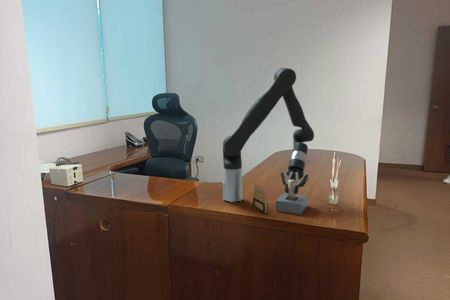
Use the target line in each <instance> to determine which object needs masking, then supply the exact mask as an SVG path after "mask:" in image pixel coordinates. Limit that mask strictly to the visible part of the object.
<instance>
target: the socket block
mask: <svg viewBox="0 0 450 300" xmlns="http://www.w3.org/2000/svg"><path fill="white" fill-rule="evenodd" d="M307 207H308V195H304V194H303V195H302V194H301V195H300V194H296V201H295V200H288V193H286V192H283V193H282V194H281V195H280V196H278V198H276V200H275V212H281V213H288V214H289V213H290V214H295V215H302V214H303V212H304V211H305V210H306V208H307Z"/></svg>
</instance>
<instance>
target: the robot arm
mask: <svg viewBox="0 0 450 300" xmlns="http://www.w3.org/2000/svg"><path fill="white" fill-rule="evenodd" d="M296 80H297V74H296V71H295V70H293V68H288V67H287V68H286V67H283V68H282V67H281V68H278V69H277V70H276V71H275V72H274V75H273V81H274V82H273V83H272V84H271V86H270V87H269V88H268V90H267V91H265V92H264V93H263V94H262V95H261V96H259V97H258V99H256V100H255V101H254V102H253V104H252V105H251V106H250V107H249V109H248V110H247V111H246V114H245V115H244V117H243V118H242V120H241V123H240V124H239V126H238V128H237V129H236V130H235V131H234V132H233V133H232V134H231V135H228V136H226V137H225V138H224V140H223V143H222V158H223V182H222V200H223V201H225V200H226V201H225V202H227V201H229V202H228V203H237V202H236V201H240V202H242V201H241V200H243V169H242V168H243V162H242V150H243V148H244V147H245V145H246V143H247V142H248V140H249V139H250V137H251V136H252V135H253V134H254V132H255V131H256V130H257V129H258V128H260V126H261V125H262V123H264V121H265V120H266V118H267V117H268V116H269V115H270V113H271V111H273V109H274V108H275V107H276V105H277V104H278V102H279V101H280V99H282V98H283V101H284V104H285V106H286V109H287V112H288V115H289V119H290V122H291V124H292V125H293V127H297V128H299V129H295V131H294V132H293V134H292V140H293V142H292V143H293V148H292V153H291V156H290V159H289V163H288V168H287V170H286V172H283V171H282V172H281V173H280V176H281V181H282V185H283V186H285V187H284V193H286V194H288V180H296V186H295V190H294V194H296V195H297V194H298V193H299V189H300V188H301V187H302V188H304V186H305V185H306V184H307V182H308V181H309V174H305V173H304V172H305V166H306V163H307V154H308V149H309V147H308V145H307V144H306V143H307V142H308V143H309V142H312V141H313V140H314V138H315V132H314V130H313V129H312V127H311V125H310V124H309V123H308V120H307V119H306V117H305V113H304V110H303V108H302V107H303V106H302V105H301V103H300V102H299V100H298V97H297V95H296V94H295V91H294V88H293V86H294V84H295V82H296ZM286 177H287V179H286ZM301 179H302V180H301ZM300 180H301V181H300Z"/></svg>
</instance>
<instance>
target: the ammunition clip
mask: <svg viewBox="0 0 450 300" xmlns="http://www.w3.org/2000/svg"><path fill="white" fill-rule="evenodd" d="M253 186H254V187H253V197H252V208H253V207H255V208H256V209H255V208H254V209H255V210H257V209H258V210H259V212H260V211H261V212H260V213H262V214H263V213H264V215H266V213H269V210H268V209H269V203H268V195H267V194H268V193H267V189H266V188H264V187H262V186H260V185H258V184H256V183H254V185H253ZM258 210H257V211H258Z"/></svg>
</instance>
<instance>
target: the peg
mask: <svg viewBox="0 0 450 300" xmlns="http://www.w3.org/2000/svg"><path fill="white" fill-rule="evenodd" d="M295 186H296V180H288V193H287V194H288V200H295V201H296V195H297V193H296V194H294V190H295Z"/></svg>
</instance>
